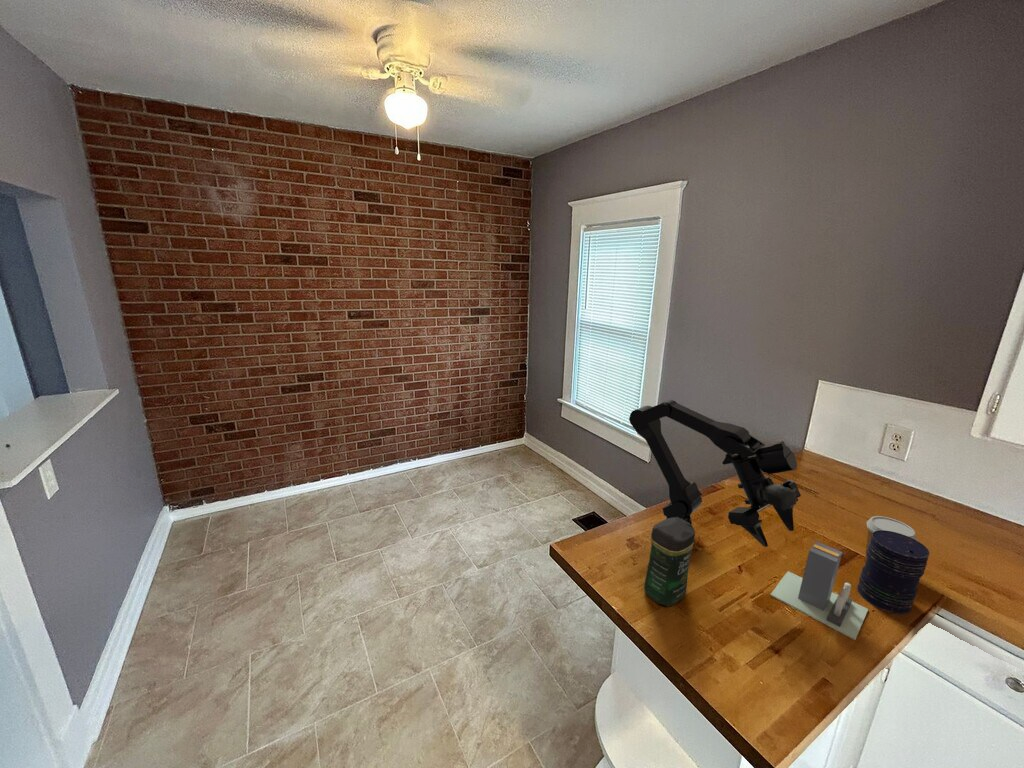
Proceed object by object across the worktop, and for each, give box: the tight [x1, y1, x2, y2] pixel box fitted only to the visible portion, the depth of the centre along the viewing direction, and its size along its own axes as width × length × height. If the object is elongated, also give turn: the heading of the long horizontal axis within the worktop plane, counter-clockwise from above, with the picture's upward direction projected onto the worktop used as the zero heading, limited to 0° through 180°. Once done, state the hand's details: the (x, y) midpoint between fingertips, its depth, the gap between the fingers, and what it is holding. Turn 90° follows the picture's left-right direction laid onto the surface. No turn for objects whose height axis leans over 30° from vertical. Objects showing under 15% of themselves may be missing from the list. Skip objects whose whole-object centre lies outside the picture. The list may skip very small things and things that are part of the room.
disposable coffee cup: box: [864, 515, 918, 564], centre depth 107 cm, size 10×10×12 cm
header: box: [769, 570, 869, 641], centre depth 96 cm, size 16×12×6 cm
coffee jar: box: [643, 517, 696, 607], centre depth 96 cm, size 10×8×19 cm
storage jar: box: [857, 530, 930, 615], centre depth 96 cm, size 10×10×15 cm
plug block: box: [798, 541, 843, 611], centre depth 95 cm, size 5×5×13 cm
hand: (778, 538), depth 102 cm, fingers open, 9 cm apart
